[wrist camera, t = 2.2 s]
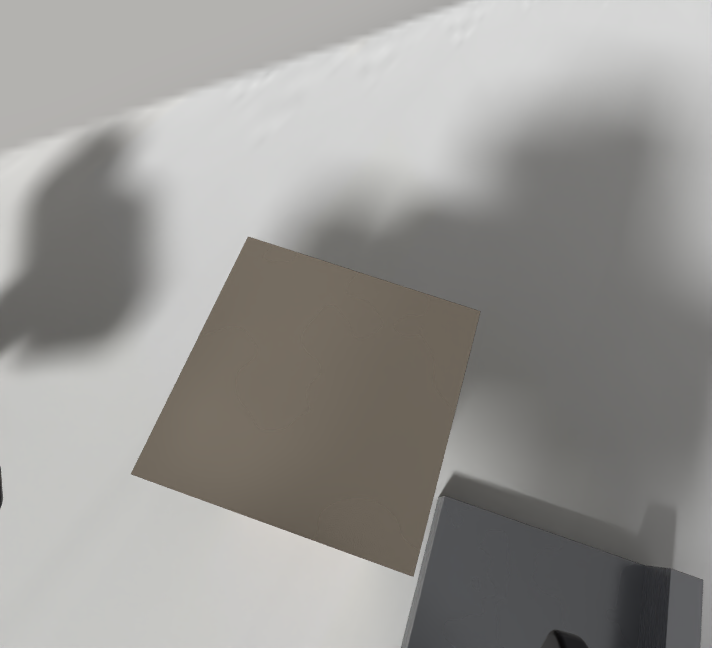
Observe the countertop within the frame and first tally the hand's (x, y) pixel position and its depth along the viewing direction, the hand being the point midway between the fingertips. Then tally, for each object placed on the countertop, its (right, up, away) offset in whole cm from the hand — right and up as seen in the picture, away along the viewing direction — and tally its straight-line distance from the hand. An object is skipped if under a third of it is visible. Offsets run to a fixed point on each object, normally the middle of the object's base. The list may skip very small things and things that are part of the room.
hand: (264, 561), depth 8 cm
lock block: (0, -1, +11) cm, 11 cm away
